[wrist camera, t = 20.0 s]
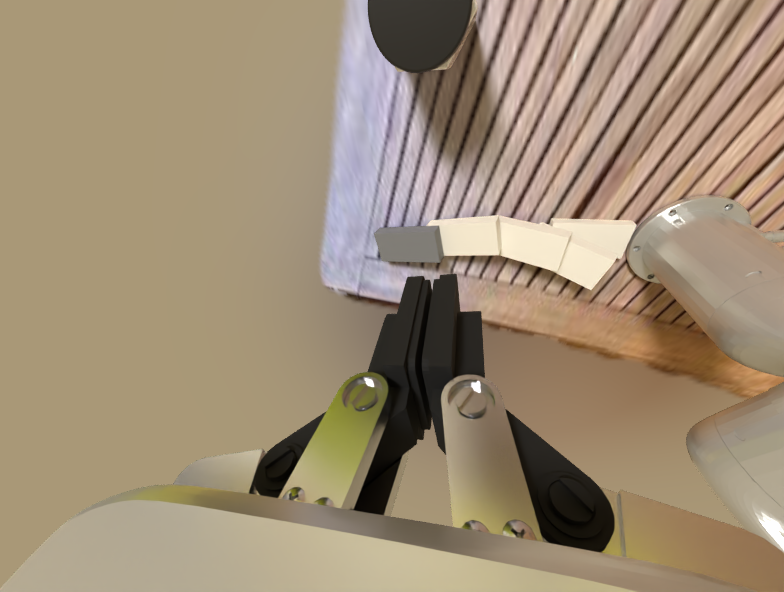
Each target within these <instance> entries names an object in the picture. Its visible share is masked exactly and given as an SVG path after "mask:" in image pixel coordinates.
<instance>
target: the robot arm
mask: <svg viewBox="0 0 784 592" xmlns="http://www.w3.org/2000/svg"><path fill="white" fill-rule="evenodd" d="M774 242H784V230H778V231H768V232H762V231H761V230H759V229H757V228H755V227H754V226H752V225H751V218H750V215H749V213H748V211H747V210H746V209H745V207H743V206H742V205H741V204H739V203H738V202H736V201H734V200H732V199H729V198H727V197H722V196H718V195H701V196H693V197H689V198H685V199H682V200H679V201H676V202H674V203H671V204H669V205H667V206H665V207H663V208H661V209H660V210H658V211H656V212H655V213H654V214H652V215H651V216H649V217H648V218H647V219H646V220H645V221H644V222H643V223H641V224H640V226H639V227H638V228H637V229H636V230H635V232H634V233H633V235H632V237H631V238H630V240H629V243H628V246H627V251H626V257H627V262H628V264H629V266H630V268H631V269H632V270H633V271H634V273H635V274H636V275H638V276H639V277H640V278H642V279H644V280H646V281H649V282H653V283H659V284H662V285H663V286H664V287H665V288H666V289H667V290H668V291H669V293H670V294H671V295H672V296H673V297H674V298H675V299H676V300H677V302H678V303H679V304H680V305H681V306H682V307H683V308H684V310H685V311H686V312H687V313H688V314H689V315H690V316H691V317H692V319H693V320H694V321H695V322H696V323H697V324H698V325H699V326H700V328H701V329H702V330H703V331H704V332H705V333H706V334H707V336H708V337H709V338H710V339H711V340H712V341H713V342H714V343H715V344H716V345H717V347H718V348H719V349H720V350H721V351H722V352H724V353H725V354H726V355H727V356H729V357H730V358H731V359H733V360H735V361H737V362H739V363H740V364H742V365H744V366H747V367H749V368H752V369H755V370H758V371H761V372H764V373H768V374H772V375H776V376H780V377H784V246H778V245H777V244H775V243H774ZM432 419H433V424H434V428H435V432H436V437H437V442H438V446H439V447H440V449H441V450H442V451H443V452H444V453H445V454H446V457H447V468H448V478H449V488H450V499H451V510H452V520H453V527H450V526H444V525H439V524H432V523H426V522H420V521H414V520H408V519H402V518H396V517H390V516H391V513H392V510H393V506H394V503H395V499H396V496H397V493H398V490H399V486H400V483H401V480H402V476H403V473H404V470H405V466H406V463H407V460H408V453H409V450H410V449H411V448H412V447H413V446H414V445H416V444H417V439H419V440H423V438H424V430H425V429H428V430H430V428H431V420H432ZM686 445H687V449H688V452H689V455H690V457H691V460H692V461H693V463H694V465H695V467H696V468H697V470H698V471H699V473H700V474H701V476H702V477H703V479H704V480H705V482H706V483H707V484H708V486H709V487H710V488H711V489H712V490H713V492H714V493H715V495H716V496H717V497H718V498H719V499H720V501H721V502H722V503H723V504H724V506H725V507H726V508H727V509H728V510H729V512H730V513H731V514H732V515H733V516H734V518H735V519H736V520H737V521H738V523H739V524H740V525H741V526H742V527H743V529H742V528H739V527H736V526H733V525H730V524H727V523H724V522H720V521H717V520H714V519H711V518H708V517H705V516H702V515H698V514H695V513H692V512H689V511H686V510H683V509H680V508H677V507H674V506H670V505H667V504H664V503H661V502H658V501H655V500H652V499H649V498H645V497H642V496H639V495H636V494H633V493H630V492H627V491H624V490H620V491H619V492H618V493H617V492H614V491H611V490H608V489H604V488H601V487H599V486H598V485H597V484H596V483H595V482H594V481H593V480H592V479H591V478H590V477H588V476H587V475H586V474H584V473H583V472H582V471H581V470H579V469H578V468H577V467H576V466H575V465H574V464H572V463H571V462H570V461H569V460H567V459H566V458H565V457H564V456H563V455H561V454H560V453H559V452H558V451H556V450H555V449H554V448H553V447H552V446H550V445H549V444H548V443H547V442H545V441H544V440H543V439H542V438H541V437H539V436H538V435H537V434H536V433H534V432H533V431H532V430H531V429H529V428H528V427H527V426H526V425H525V424H523V423H522V422H521V421H520V420H519V419H517V418H516V417H515V416H514V415H512V414H511V413H510V412H509V411H507V410H506V409H505V407H504V403H503V400H502V396H501V394H500V392H499V390H498V388H497V387H496V386H495V385H494V384H493V383H492V382H491V381H489V380H487V379H486V378H485V373H484V354H483V338H482V318H481V311H472V312H460V304H459V293H458V282H457V274H447V275H440V279H434V283H433V290H432V288H431V282H430V280H425V278H424V276H415V277H408V278H407V280H406V284H405V287H404V291H403V294H402V298H401V302H400V305H399V309H398V312H397V314H387V315H386V318H385V320H384V323H383V326H382V329H381V332H380V335H379V339H378V341H377V345H376V348H375V351H374V354H373V357H372V360H371V363H370V366H369V369H368V372H363V373H359V374H356V375H354V376H352V377H350V378H349V379H348V380H346V381H345V382H344V384H343V385H342V386H341V387H340V389H339V390H338V392H337V394H336V396H335V398H334V399H333V401H332V403H331V405H330V406H329V408H328V410H327V411H326V412H325V413H323V414H322V415H320V416H319V417H317V418H316V419H314V420H313V421H311V422H310V423H308V424H307V425H305V426H304V427H302V428H301V429H299V430H297V431H296V432H294V433H293V434H292V435H290V436H289V437H287V438H285V439H284V440H282V441H281V442H280V443H278V444H276V445H275V446H274V447H273V448H271V449H270V450H269V451H267V452H265V451H264V450H263V449H258V450H252V451H246V452H239V453H232V454H226V455H220V456H213V457H207V458H202V459H200V460H197V461H195V462H193V463H192V464H190V465H189V466H187V467H186V468H185V469H184V470H183V471H182V472H181V473H180V474H179V476H178V477H177V479H176V480H175V482H174V483H173V485H154V486H148V487H142V488H138V489H134V490H130V491H127V492H124V493H121V494H118V495H115V496H112V497H109V498H107V499H105V500H102V501H100V502H98V503H96V504H94V505H92V506H90V507H88V508H86V509H84V510H82V511H81V512H79V513H78V514H76V515H75V516H73V517H72V518H70V519H69V520H68V521H67V522H65V523H64V524H63V525H62V526H61V527H60V528H58V529H57V530H56V531H55V532H54V533H53V534H52V535H51V536H50V537H49V538H48V539H47V540H46V541H45V542H44V543H43V544H42V545H41V546H40V547H39V548H38V549H37V550H36V551H35V552H34V553H33V554H32V555H31V556H30V557H29V558H28V559H27V560H26V561H25V562H24V563H23V565H22V566H21V567H20V568H19V569H18V570H17V571H16V572H15V573H14V574H13V575H12V576H11V577H10V578H9V579H8V580H7V582H6V583H5V584H4V585H3V586H2V587H1V588H0V592H784V382H782V383H780V384H778V385H776V386H774V387H772V388H770V389H769V390H768V391H765V392H763V393H761V394H759V395H756V396H754V397H752V398H750V399H747V400H745V401H743V402H741V403H738V404H736V405H734V406H731V407H729V408H727V409H725V410H722V411H720V412H718V413H716V414H714V415H712V416H709V417H707V418H706V419H704V420H702V421H700V422H698V423H697V424H696V425H694V426H693V427H692V428H691V429H690V431H689V432H688V434H687V438H686Z"/></svg>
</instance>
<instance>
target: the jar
mask: <svg viewBox="0 0 784 592" xmlns="http://www.w3.org/2000/svg"><path fill="white" fill-rule="evenodd" d="M477 9H478V6H477V3H476V0H368V17H369V24H370V28H371V32H372V35H373V38H374V40H375V43H376V45H377V47H378V48H379V50H380V52H381V53H382V55H383V56H384V57H385V58H386V59H387V60H388V61H389V62H390V63H391V64H392V65H394V66H395V68H396V70H397V71H398V72H404V71H406V72H410V73H422V72H427V71H431V70H445V69H449V68H451V67H452V65H453V63H454V61H455V59H456V58H457V56H458V54H459V52H460V50H461V48H462V46H463V44H464V42H465V40H466V38H467V36H468V34H469V32H470V31H471V29H472V27H473V25H474V23H475V20H476V14H477Z"/></svg>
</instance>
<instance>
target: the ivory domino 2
mask: <svg viewBox="0 0 784 592" xmlns="http://www.w3.org/2000/svg"><path fill="white" fill-rule="evenodd" d="M499 221H500V232H501V244H502V249H501V251H500V254H499V255H500V256H504V257H507V258H510V259H514V260H517V261H521V262H524V263H528V264H531V265H535V266H538V267H542V268H545V269H548V270H552V271H555V272H557V271H558V270H559V268H560V266H561V264H562V261H563V258H564V256H565V253H566V250H567V247H568V244H569V242H570V239H571V236H572V233H573V232H572V231H567V230H563V229H558V228H554V227H549V226H545V225H540V224H536V223H531V222H527V221H522V220H518V219H513V218H509V217H504V216H500V215H499Z"/></svg>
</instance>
